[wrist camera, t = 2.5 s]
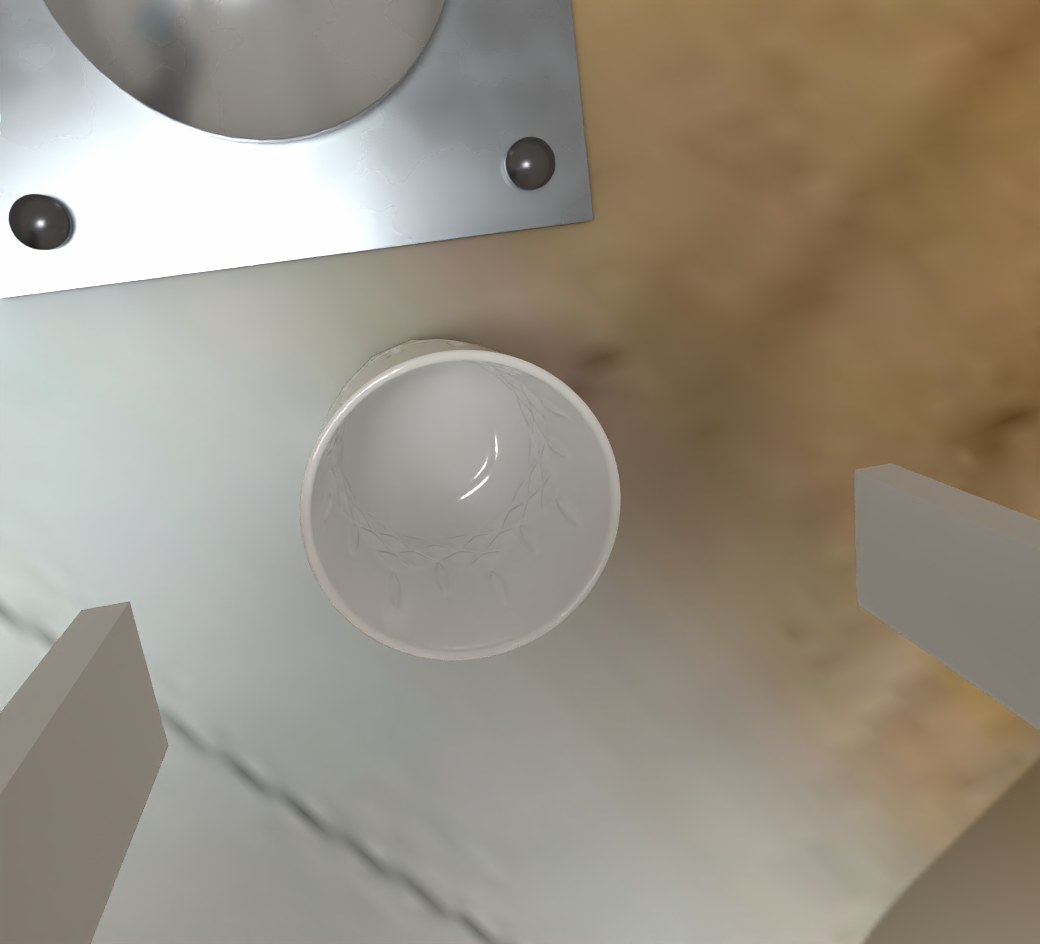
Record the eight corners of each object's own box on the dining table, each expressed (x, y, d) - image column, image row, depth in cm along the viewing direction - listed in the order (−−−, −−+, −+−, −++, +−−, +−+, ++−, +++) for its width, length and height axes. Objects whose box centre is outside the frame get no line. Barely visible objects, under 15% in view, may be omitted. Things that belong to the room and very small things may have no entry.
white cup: (292, 343, 29) (264, 384, 19) (520, 303, 30) (599, 323, 20) (342, 560, 31) (339, 693, 21) (553, 515, 32) (639, 622, 23)
